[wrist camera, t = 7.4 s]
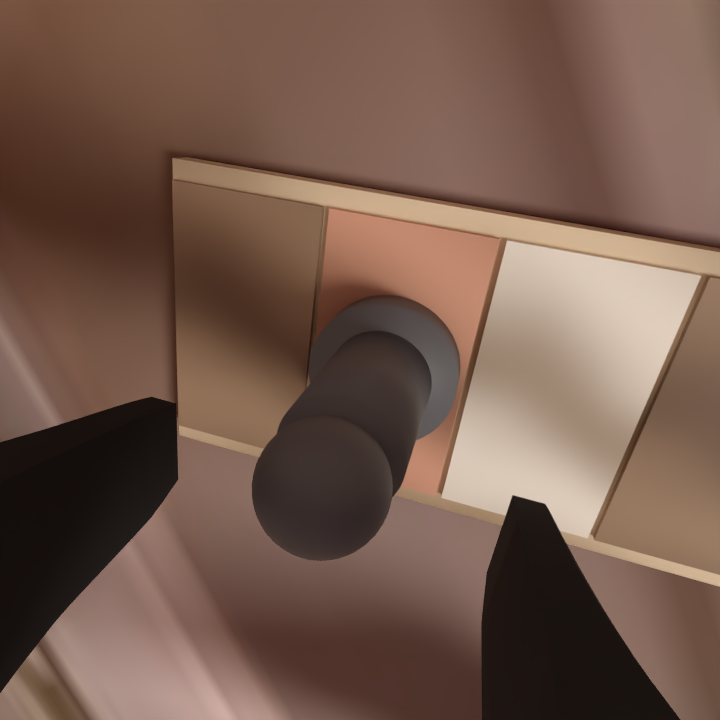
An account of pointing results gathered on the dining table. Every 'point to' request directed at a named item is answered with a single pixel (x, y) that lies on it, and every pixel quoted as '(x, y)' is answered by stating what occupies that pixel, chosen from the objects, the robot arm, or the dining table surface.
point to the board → (470, 349)
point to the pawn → (355, 426)
